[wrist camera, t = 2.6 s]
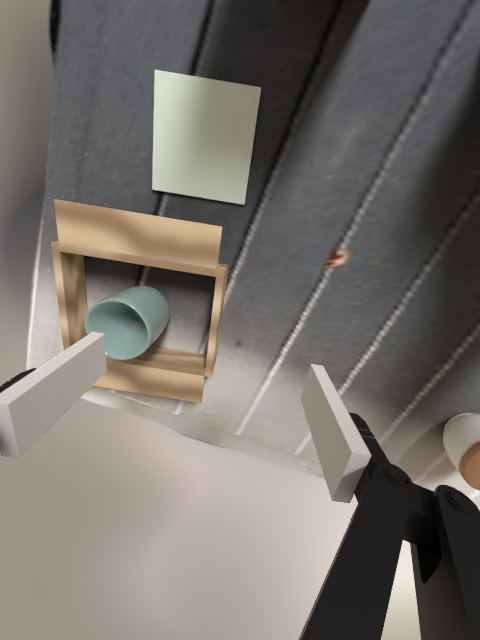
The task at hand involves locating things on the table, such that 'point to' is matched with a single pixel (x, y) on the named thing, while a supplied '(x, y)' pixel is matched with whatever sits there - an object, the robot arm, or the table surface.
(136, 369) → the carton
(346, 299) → the table surface
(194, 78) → the mat
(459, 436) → the lidded jar
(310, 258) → the table surface
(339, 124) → the table surface
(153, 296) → the cup
